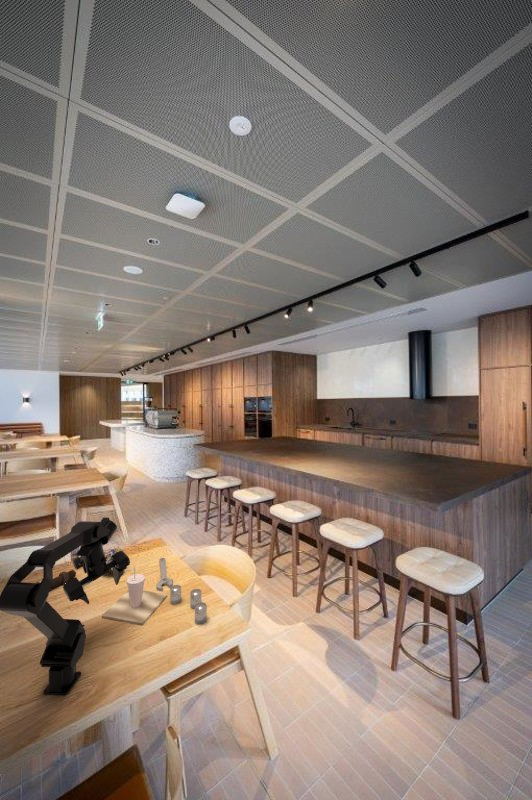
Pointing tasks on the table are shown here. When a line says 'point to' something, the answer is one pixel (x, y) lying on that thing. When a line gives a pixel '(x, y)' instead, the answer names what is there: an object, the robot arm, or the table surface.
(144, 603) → the pad
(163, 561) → the adjustable wrench
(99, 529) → the robot arm
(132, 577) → the smoothie
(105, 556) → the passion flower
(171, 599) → the posts
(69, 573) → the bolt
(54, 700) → the table surface
